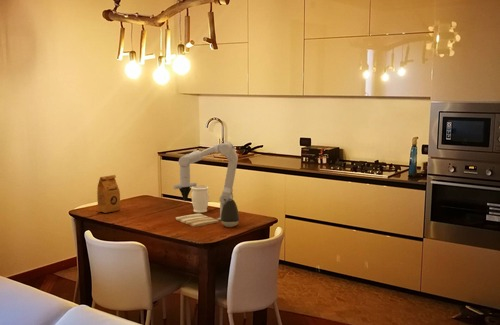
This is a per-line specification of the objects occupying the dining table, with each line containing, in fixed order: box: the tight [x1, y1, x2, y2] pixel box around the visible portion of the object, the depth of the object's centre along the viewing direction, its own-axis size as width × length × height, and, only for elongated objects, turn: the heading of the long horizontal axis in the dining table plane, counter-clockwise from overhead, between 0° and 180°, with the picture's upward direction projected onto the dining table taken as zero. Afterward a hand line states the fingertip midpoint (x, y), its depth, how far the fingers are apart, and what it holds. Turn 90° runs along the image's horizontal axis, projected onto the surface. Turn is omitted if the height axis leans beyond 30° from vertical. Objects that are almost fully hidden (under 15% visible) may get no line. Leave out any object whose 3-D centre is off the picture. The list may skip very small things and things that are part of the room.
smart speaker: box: [220, 198, 240, 228], centre depth 283 cm, size 10×10×15 cm
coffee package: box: [96, 174, 122, 214], centre depth 314 cm, size 10×12×22 cm
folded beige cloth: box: [185, 216, 220, 228], centre depth 290 cm, size 9×16×1 cm, turn 130°
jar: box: [190, 185, 210, 214], centre depth 316 cm, size 11×10×15 cm
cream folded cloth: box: [175, 212, 209, 224], centre depth 298 cm, size 9×16×1 cm, turn 130°
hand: (185, 200), depth 299 cm, fingers closed
